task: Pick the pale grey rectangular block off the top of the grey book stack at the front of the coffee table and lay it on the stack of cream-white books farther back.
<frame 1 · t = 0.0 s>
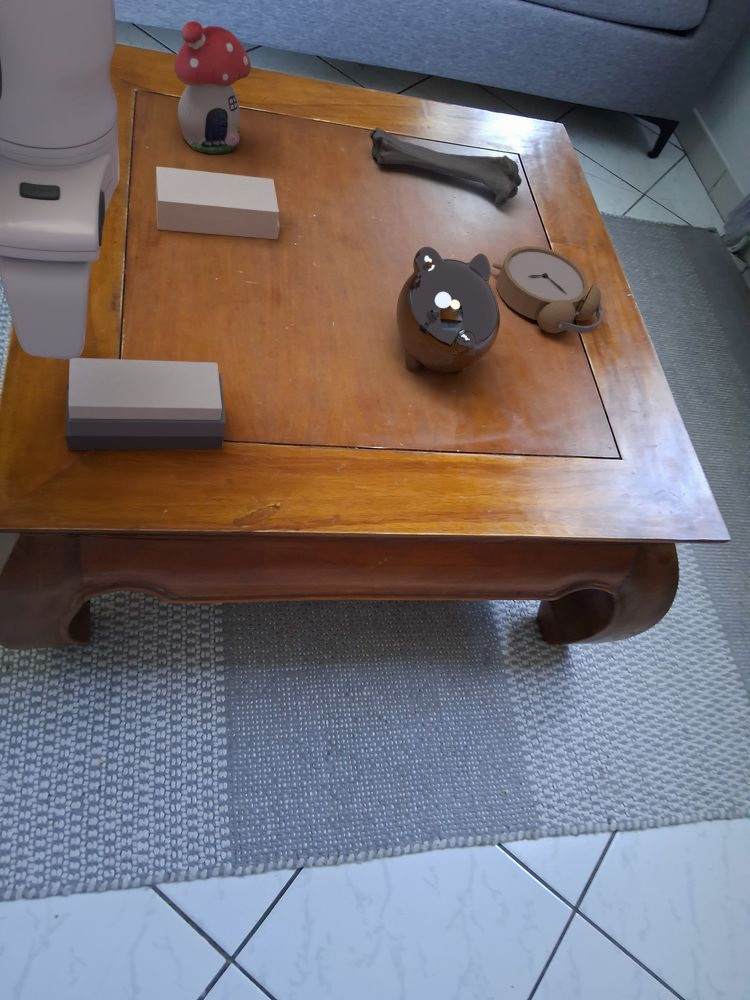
hand: (63, 306, 59), 15 cm above the table, tool pointing down, fingers open, 8 cm apart
piggy bank: (429, 352, 89), on the table
alarm clock: (543, 305, 99), on the table
bone: (440, 182, 107), on the table
white books: (216, 217, 92), on the table
decorative ornament: (208, 141, 99), on the table
pale grey rectangular block: (146, 395, 70), point 4 cm above the table, touching grey books
grey books: (146, 424, 74), on the table
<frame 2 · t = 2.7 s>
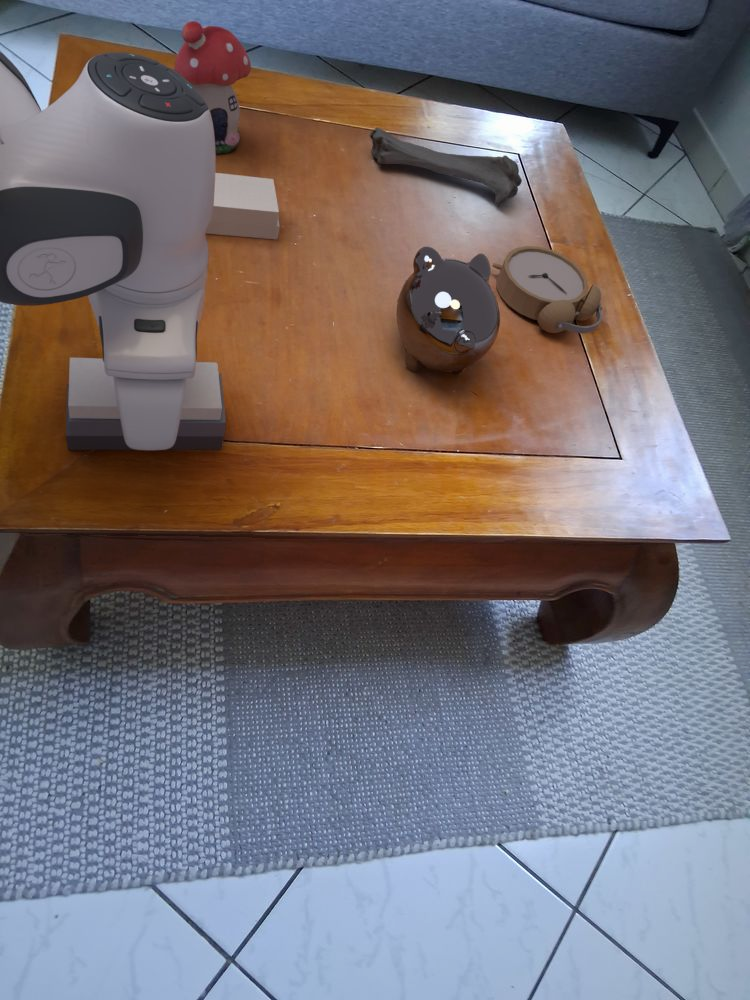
hand: (146, 394, 70), 5 cm above the table, tool pointing down, fingers closed on pale grey rectangular block, 5 cm apart
pale grey rectangular block: (146, 395, 70), point 4 cm above the table, touching grey books, gripper
everything else where it was.
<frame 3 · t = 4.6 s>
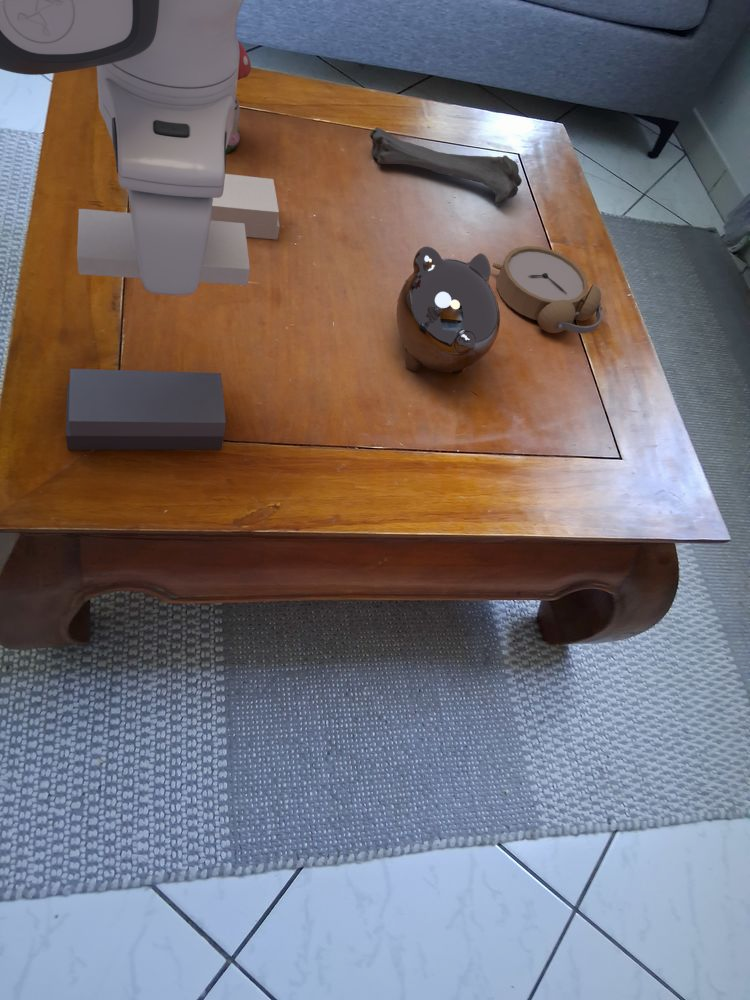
hand: (164, 254, 62), 17 cm above the table, tool pointing down, fingers closed on pale grey rectangular block, 5 cm apart
pale grey rectangular block: (164, 256, 62), point 17 cm above the table, touching gripper
everything else where it was.
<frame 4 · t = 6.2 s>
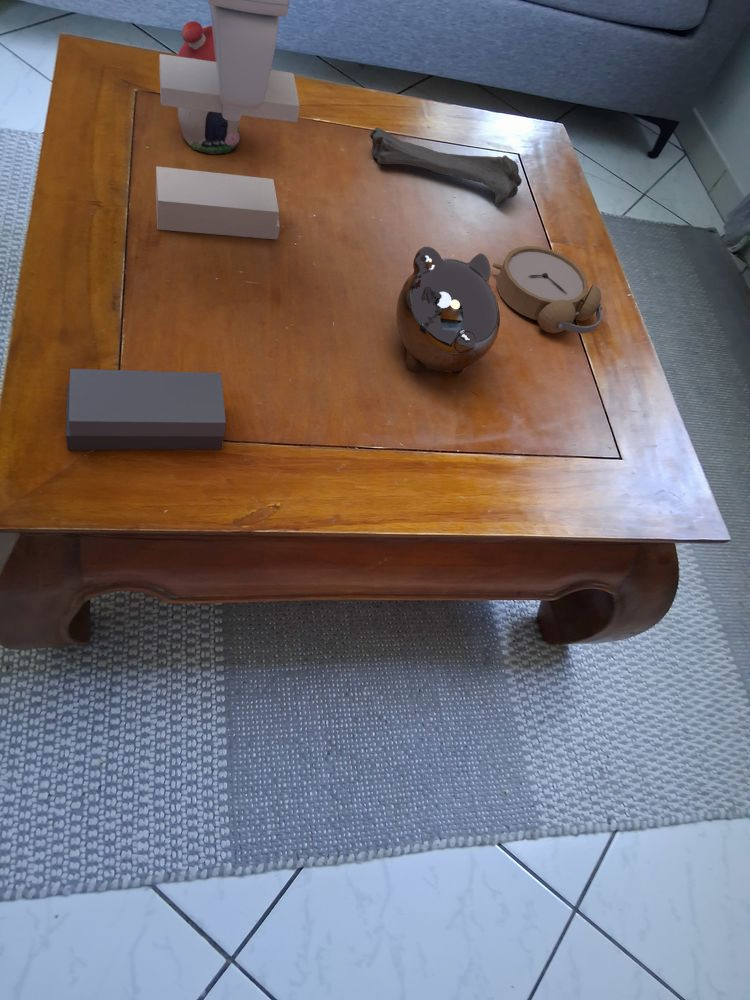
hand: (228, 95, 75), 18 cm above the table, tool pointing down, fingers closed on pale grey rectangular block, 5 cm apart
pale grey rectangular block: (228, 97, 75), point 18 cm above the table, touching gripper
everything else where it was.
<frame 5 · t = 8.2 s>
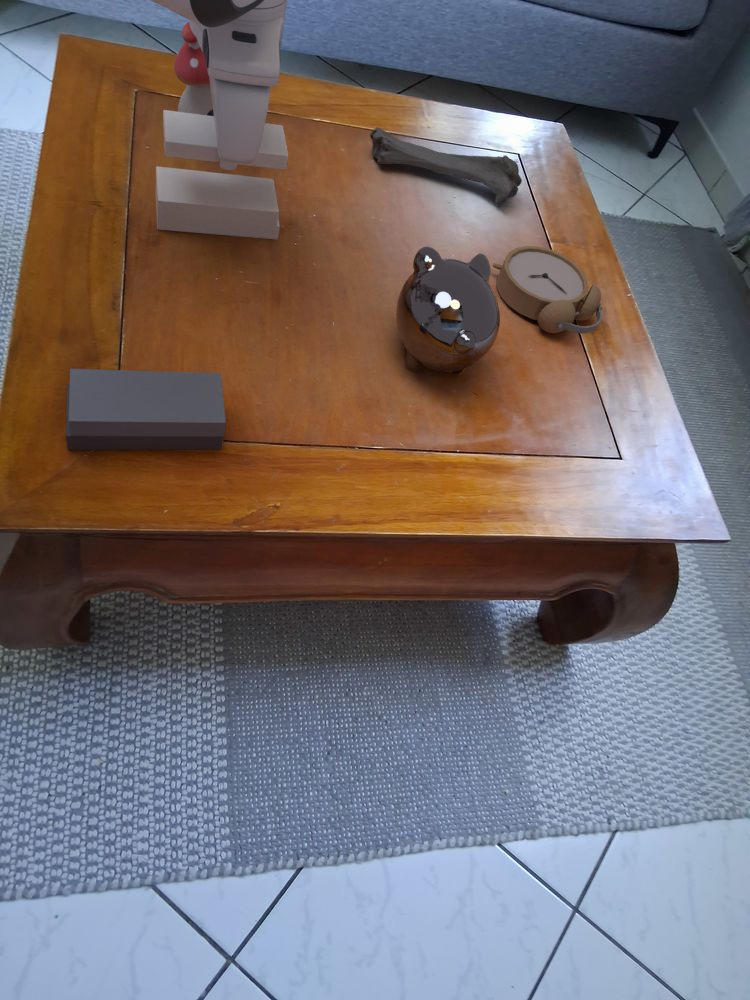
hand: (224, 146, 84), 10 cm above the table, tool pointing down, fingers closed on pale grey rectangular block, 5 cm apart
pale grey rectangular block: (225, 147, 84), point 9 cm above the table, touching gripper
everything else where it was.
when the fingers open (4 cm above the table, at t = 10.0 s): pale grey rectangular block stays where it is, resting on white books.
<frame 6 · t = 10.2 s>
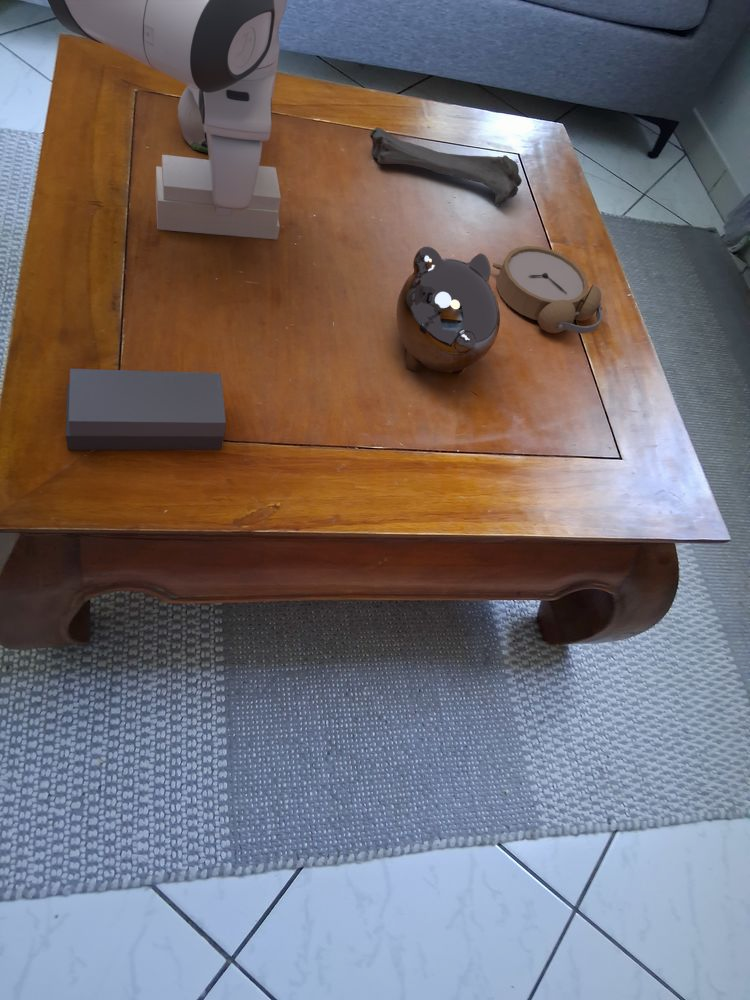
hand: (220, 188, 88), 4 cm above the table, tool pointing down, fingers open, 6 cm apart
pale grey rectangular block: (220, 189, 88), point 4 cm above the table, touching white books
everything else where it was.
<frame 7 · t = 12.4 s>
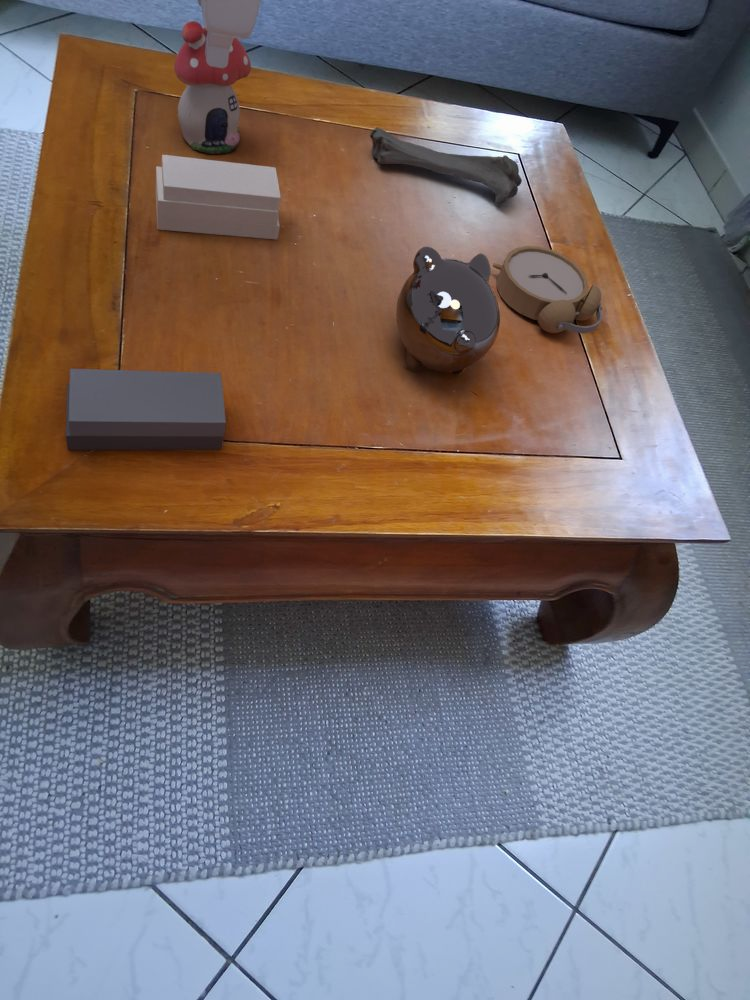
hand: (211, 32, 67), 25 cm above the table, tool pointing down, fingers open, 8 cm apart
nothing on the table moved.
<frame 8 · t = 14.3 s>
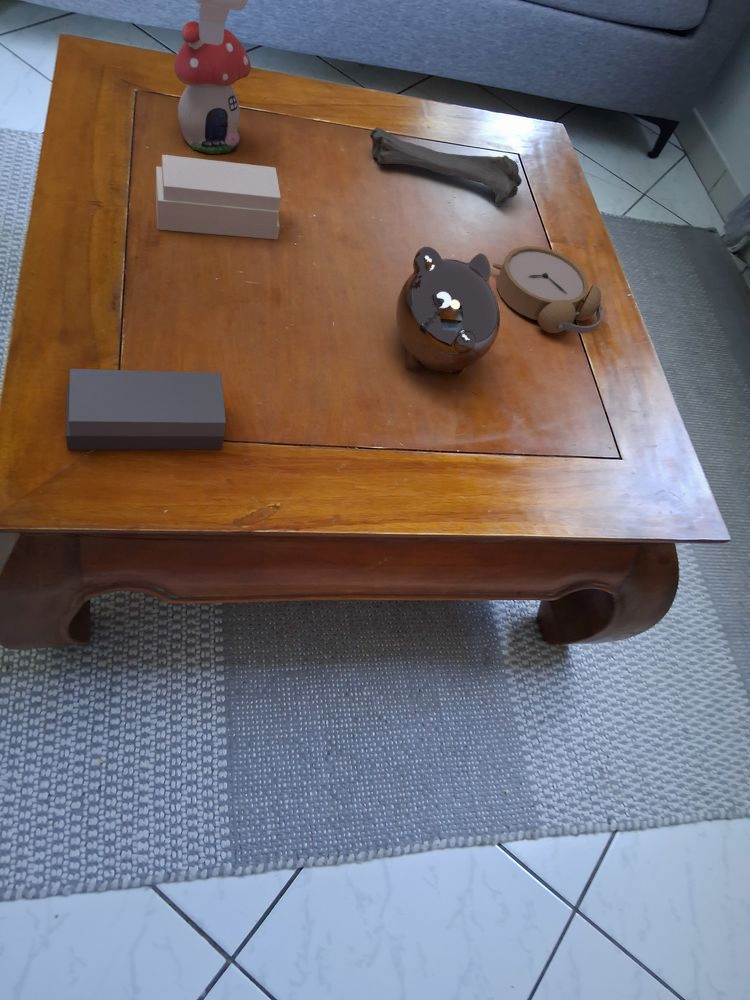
hand: (206, 6, 61), 29 cm above the table, tool pointing down, fingers open, 8 cm apart
nothing on the table moved.
at the end: pale grey rectangular block 0.1 cm off-centre on the white books, point 4.0 cm above the white books's base; pale grey rectangular block tilted 0°; the gripper is holding nothing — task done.
